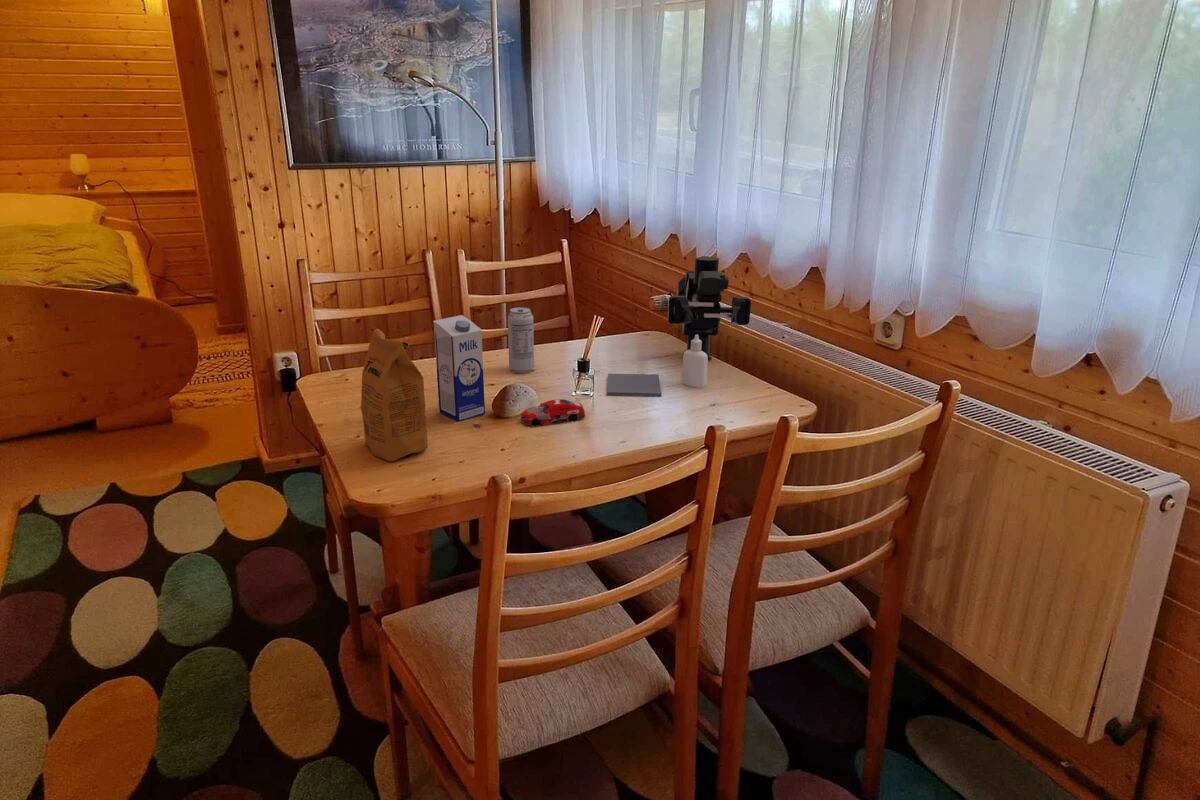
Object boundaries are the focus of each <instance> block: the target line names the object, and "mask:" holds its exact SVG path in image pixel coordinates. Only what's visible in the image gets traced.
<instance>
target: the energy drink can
mask: <svg viewBox="0 0 1200 800" xmlns="http://www.w3.org/2000/svg"><path fill="white" fill-rule="evenodd" d="M531 310H532V309H531V308H529V307H521V306H519V307H513V308H510V309H509V311H510V312H509V313H508V316H507V339H508V341H507V342H508V367H509V369H510V370H511V372H513V373H515V374H528V373H531V372H532V371H533V369H534V367H535V347H534V344H535V343H534V340H535V337H534V315H533V314H532V311H531Z"/></svg>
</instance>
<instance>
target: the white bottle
mask: <svg viewBox="0 0 1200 800" xmlns="http://www.w3.org/2000/svg"><path fill="white" fill-rule="evenodd" d="M701 346H702V341H701V340H699V336H698V335H695V338H694V339H693V340H691V349H690V350H687V349H686V350H687V351H685V350H684V351H685V352H683V357H682V370H681V371H682V373H681V383H682V384H683V385H685V386H687V387H691V388H699V389H701V388H704V387H706V386H707V377H708V361H709V360H708V356H707V354H706V353H705V352H703V351H701Z"/></svg>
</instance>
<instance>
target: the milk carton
mask: <svg viewBox="0 0 1200 800" xmlns="http://www.w3.org/2000/svg"><path fill="white" fill-rule="evenodd" d="M432 322H433V329H434V330H433V333H434V334H433V335H434V348H435V361H436V362H435V363H436V365H435V366H436V378H437V379H436V380H437V395H438V411H439V414H441V415H442V416H445V417H446V418H448V417H449V418H448V419H450V420H453V421H455V422H457V423H459V422H463V421H466V420H470V419H472V418H475V417H479V416H482V415H486V411H485V410H486V405H485V404H486V403H485V384H484V381H485V380H484V359H483V355H484V354H483V337H482V336H483V335H482V331H483V330H482V329H481V328H480V327H479V326H477V324H475V323H474V322H473V321H471V320H470V319H469V318H467V317H465V316H464V315H462V314H459V315H455V316H451V317H446V318H441V319H440V318H439V319H435V320H433V321H432Z"/></svg>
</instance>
